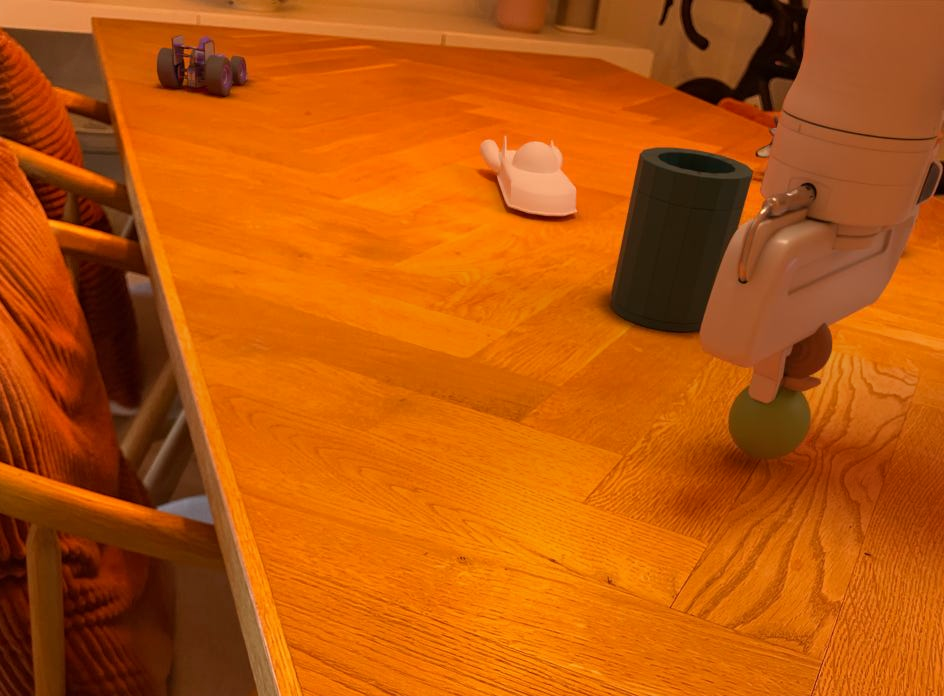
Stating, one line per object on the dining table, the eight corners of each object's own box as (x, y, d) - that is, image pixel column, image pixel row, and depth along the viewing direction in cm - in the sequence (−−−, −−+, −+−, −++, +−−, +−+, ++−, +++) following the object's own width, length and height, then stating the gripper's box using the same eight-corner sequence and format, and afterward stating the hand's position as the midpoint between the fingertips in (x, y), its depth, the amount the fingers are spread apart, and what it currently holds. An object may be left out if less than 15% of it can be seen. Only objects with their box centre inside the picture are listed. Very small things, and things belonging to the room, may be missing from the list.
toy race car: (257, 81, 152) (256, 32, 148) (221, 99, 140) (219, 46, 136) (197, 72, 152) (195, 23, 148) (157, 88, 141) (153, 35, 137)
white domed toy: (498, 217, 110) (506, 161, 106) (477, 169, 125) (482, 118, 122) (589, 224, 112) (599, 169, 108) (556, 176, 127) (564, 126, 123)
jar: (730, 318, 93) (772, 170, 85) (677, 340, 87) (716, 184, 79) (646, 286, 97) (678, 142, 89) (589, 305, 91) (618, 153, 83)
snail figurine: (726, 423, 73) (774, 259, 66) (807, 455, 71) (868, 288, 63) (694, 448, 70) (741, 278, 62) (778, 482, 67) (839, 309, 59)
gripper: (813, 216, 50) (740, 456, 59) (953, 166, 63) (876, 370, 72) (707, 184, 53) (652, 418, 62) (861, 143, 66) (798, 342, 75)
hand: (773, 392), depth 67 cm, fingers closed on snail figurine
